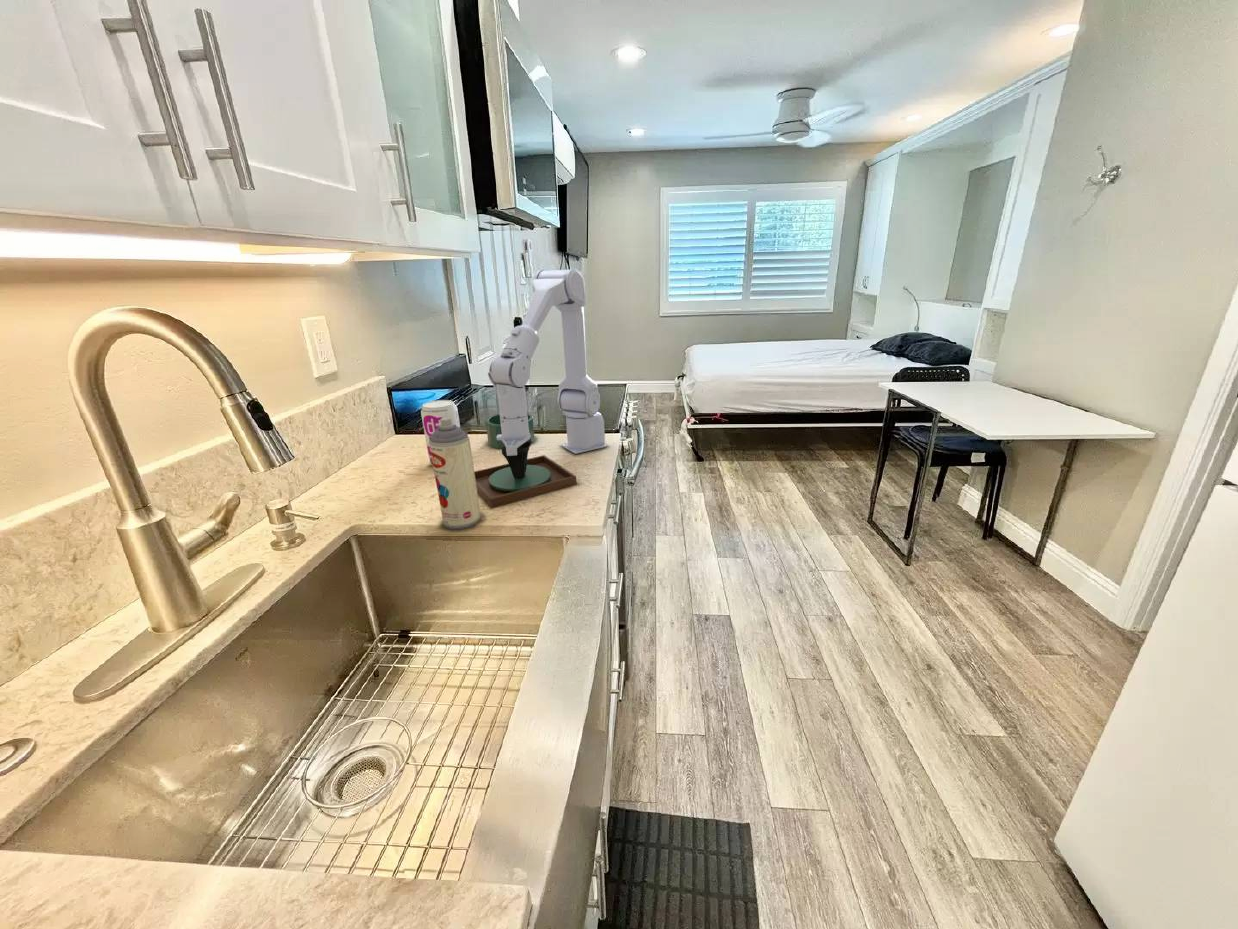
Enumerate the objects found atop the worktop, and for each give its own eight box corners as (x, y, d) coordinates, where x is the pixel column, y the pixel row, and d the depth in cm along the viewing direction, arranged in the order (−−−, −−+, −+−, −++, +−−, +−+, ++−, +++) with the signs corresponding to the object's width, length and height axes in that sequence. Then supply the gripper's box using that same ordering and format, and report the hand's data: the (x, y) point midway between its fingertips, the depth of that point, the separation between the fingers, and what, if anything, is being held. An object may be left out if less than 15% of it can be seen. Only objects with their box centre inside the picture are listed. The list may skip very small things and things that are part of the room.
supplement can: (455, 470, 116) (445, 408, 110) (423, 468, 118) (412, 407, 112) (471, 457, 123) (462, 399, 118) (441, 456, 125) (431, 398, 119)
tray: (544, 462, 119) (544, 454, 119) (576, 484, 107) (576, 476, 106) (466, 481, 110) (465, 473, 109) (491, 507, 97) (490, 499, 96)
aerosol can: (438, 519, 93) (419, 418, 86) (472, 508, 97) (457, 411, 89) (450, 533, 88) (432, 427, 81) (486, 521, 92) (472, 419, 84)
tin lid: (535, 465, 117) (534, 447, 115) (561, 483, 106) (559, 464, 105) (480, 478, 110) (478, 460, 108) (502, 499, 100) (499, 479, 98)
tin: (524, 431, 143) (521, 409, 140) (542, 442, 133) (540, 419, 131) (482, 439, 136) (479, 417, 134) (498, 452, 127) (495, 428, 124)
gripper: (500, 406, 109) (506, 463, 114) (487, 426, 96) (495, 489, 101) (532, 405, 109) (537, 462, 114) (524, 424, 96) (530, 487, 101)
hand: (520, 474), depth 108 cm, fingers closed on tin lid, 2 cm apart
